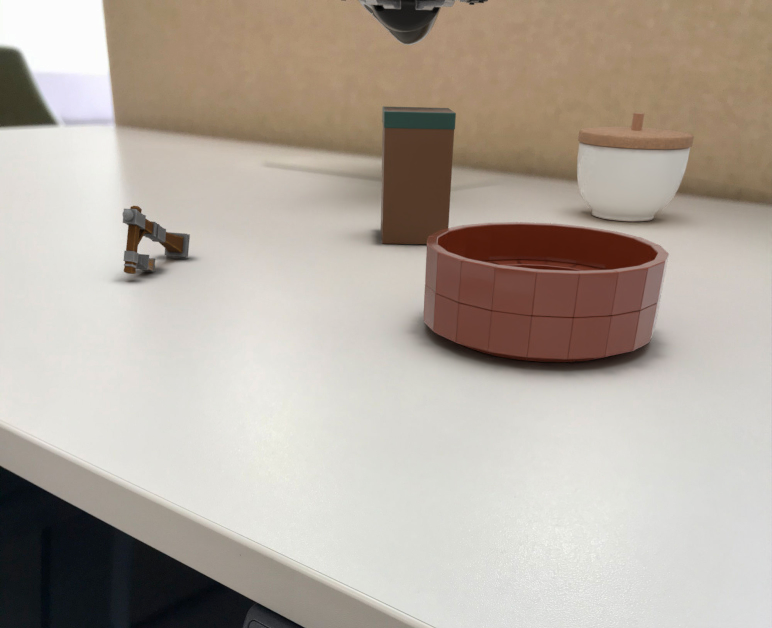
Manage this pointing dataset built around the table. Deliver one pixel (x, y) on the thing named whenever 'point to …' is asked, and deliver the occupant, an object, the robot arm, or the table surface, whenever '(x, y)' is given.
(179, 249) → the wooden post with brackets
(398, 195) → the tea box
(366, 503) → the table surface
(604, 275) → the bowl
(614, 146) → the trinket box
